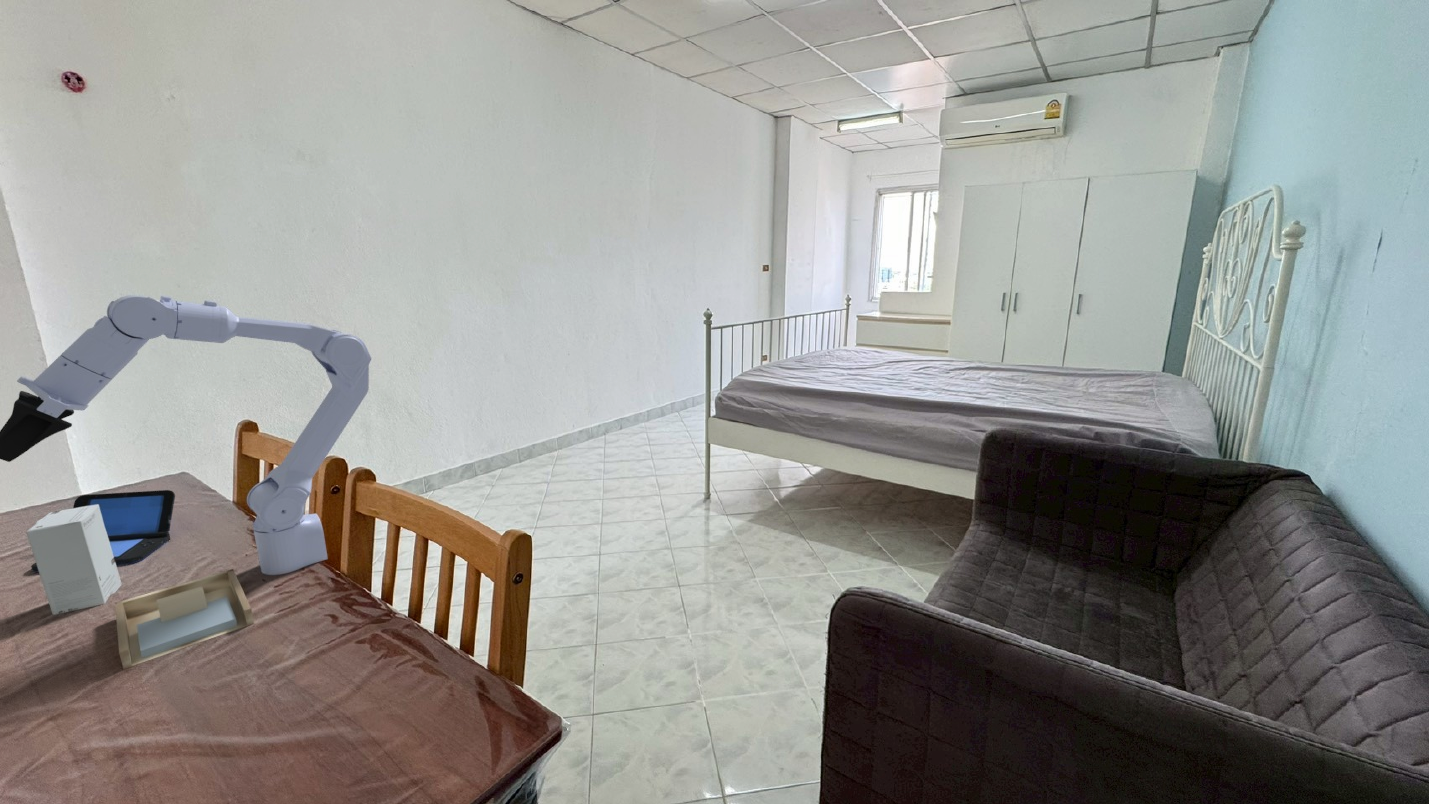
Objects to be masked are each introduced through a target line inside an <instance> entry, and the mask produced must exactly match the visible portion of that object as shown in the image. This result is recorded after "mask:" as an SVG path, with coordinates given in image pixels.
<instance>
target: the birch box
mask: <svg viewBox="0 0 1429 804" xmlns="http://www.w3.org/2000/svg"><path fill="white" fill-rule="evenodd" d="M201 586H202V587H203V590H204V594H205V599H206V603H207V602H211V601H214V600H217V599H220V598H223V597H227V598H228V600H229V603H230V605H231V608H232V610H233V612H234V615H235V617H236V621H237V626H235V627H232V628H229V629H226V630H223V631H220V632H218V633H215V634H212V635H209V636H206V637H203V638H200V639H197V640H194V641H192V642H189V643H186V644H183V645H180V646H177V647H174V648H171V649H169V650H166V651H163V652H160V653H157V654H154V655H151V656H148V657H145V658H143V659H142V656H141V652H140V645H139V638H138V631H137V624H141V623H144V622H147V621H150V620H153V619H157V618H160V613H159V609H158V605H157V600H158V599H161V598H164V597H168V596H171V595H174V594H178V593H181V592H185V591H188V590H191V589H195V588H198V587H201ZM114 607H115V620H116V631H117V641H118V643H117V645H118V654H119V657H120V661H121V664H122V669H123V670H125V669H128V668H131V667H134V666H136V665H139V664H143V663H145V662H146V663H147V662H148V661H151V660H154V659H157V658H160V657H162V656H165V655H168V654H171V653H174V652H176V651H177V652H178V651H180V650H183V649H185V648H188V647H191V646H194V645H197V644H199V643H203V642H205V641H208V640H211V639H214V638H217V637H219V636H223V635H225V634H229V633H230V632H231V633H232V632H234V631H237V630H239V629H242V628H246V627H248V626H251V625H254V624H255V621H254V617H253V616H254V615H253V611H252V608H251V605H250V603H249V601H248V598H247V596H246V594H245V592H244V590H243V588H242V585H241V583H240V581H239V578H238V576H237V574H236V572H235V570H234V568H231V569H227V570H224V571H221V572H216V573H213V574H210V575H206V576H203V577H200V578H197V579H193V580H189V581H186V582H182V583H180V584H176V585H172V586H168V587H165V588H162V589H157V590H155V591H151V592H149V593H145V594H141V595H138V596H133V597H130V598H127V599H123V600H120V601H117V602H114Z"/></svg>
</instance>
